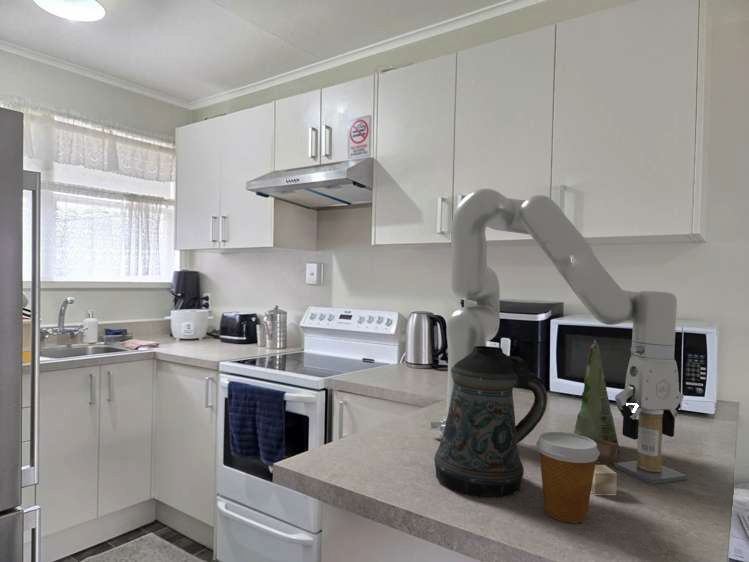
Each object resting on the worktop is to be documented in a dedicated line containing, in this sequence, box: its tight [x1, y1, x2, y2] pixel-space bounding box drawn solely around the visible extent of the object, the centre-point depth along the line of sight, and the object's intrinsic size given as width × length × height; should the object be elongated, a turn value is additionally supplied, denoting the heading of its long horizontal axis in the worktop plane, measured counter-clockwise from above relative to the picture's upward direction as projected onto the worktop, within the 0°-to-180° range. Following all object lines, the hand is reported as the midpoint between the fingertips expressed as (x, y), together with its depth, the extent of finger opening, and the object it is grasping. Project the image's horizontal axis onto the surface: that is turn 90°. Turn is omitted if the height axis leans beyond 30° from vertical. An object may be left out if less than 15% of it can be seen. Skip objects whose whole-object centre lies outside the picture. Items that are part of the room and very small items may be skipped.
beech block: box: [591, 464, 618, 496], centre depth 88 cm, size 4×4×4 cm
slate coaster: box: [614, 460, 688, 485], centre depth 97 cm, size 9×9×1 cm
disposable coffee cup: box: [535, 431, 600, 524], centre depth 78 cm, size 10×10×12 cm
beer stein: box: [433, 345, 548, 499], centre depth 91 cm, size 16×19×25 cm
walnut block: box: [594, 439, 618, 467], centre depth 103 cm, size 4×4×4 cm
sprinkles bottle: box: [636, 409, 663, 472], centre depth 97 cm, size 5×5×14 cm
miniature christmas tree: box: [573, 339, 620, 453], centre depth 113 cm, size 11×12×25 cm
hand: (648, 436), depth 97 cm, fingers open, 9 cm apart
